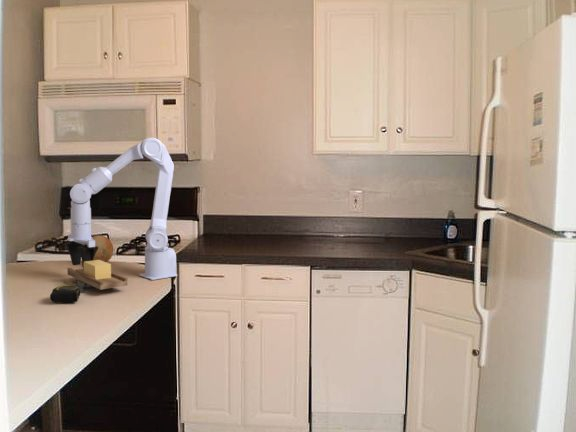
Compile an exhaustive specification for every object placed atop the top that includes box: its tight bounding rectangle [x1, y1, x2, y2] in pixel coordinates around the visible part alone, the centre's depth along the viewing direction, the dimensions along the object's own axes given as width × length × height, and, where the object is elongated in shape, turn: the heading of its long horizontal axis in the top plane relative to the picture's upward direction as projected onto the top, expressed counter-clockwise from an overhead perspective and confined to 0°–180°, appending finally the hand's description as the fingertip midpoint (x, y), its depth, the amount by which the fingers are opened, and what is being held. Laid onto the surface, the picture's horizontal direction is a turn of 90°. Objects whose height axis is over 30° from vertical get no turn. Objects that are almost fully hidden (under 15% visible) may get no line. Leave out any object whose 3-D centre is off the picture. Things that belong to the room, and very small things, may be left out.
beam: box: [67, 267, 128, 291], centre depth 156 cm, size 8×22×3 cm, turn 45°
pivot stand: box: [71, 280, 100, 293], centre depth 157 cm, size 12×8×2 cm, turn 135°
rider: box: [84, 260, 112, 280], centre depth 155 cm, size 5×8×4 cm, turn 45°
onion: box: [91, 235, 114, 263], centre depth 186 cm, size 10×10×10 cm
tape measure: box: [49, 284, 82, 304], centre depth 141 cm, size 7×7×4 cm
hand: (81, 267), depth 163 cm, fingers open, 7 cm apart
